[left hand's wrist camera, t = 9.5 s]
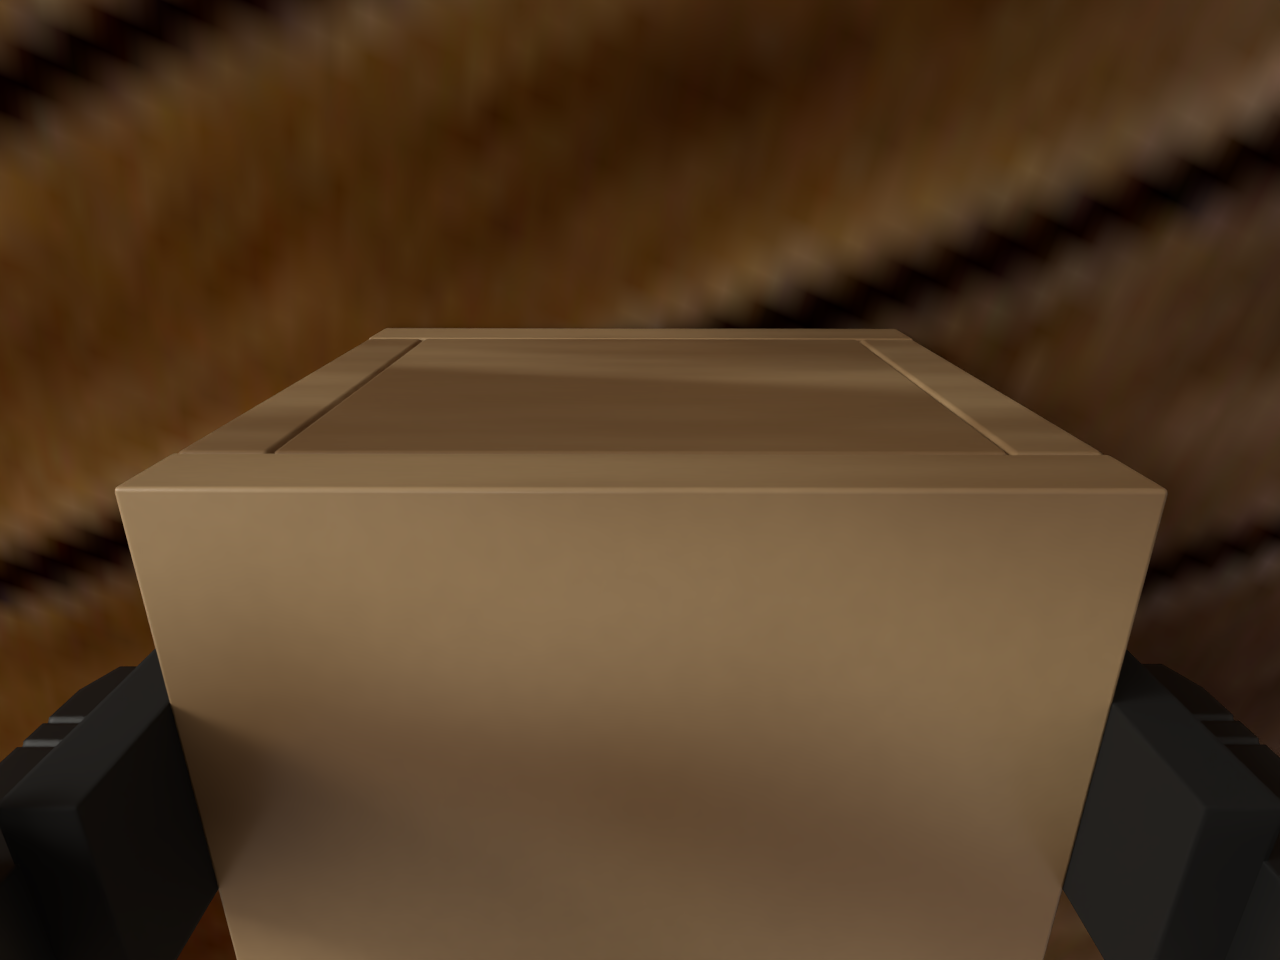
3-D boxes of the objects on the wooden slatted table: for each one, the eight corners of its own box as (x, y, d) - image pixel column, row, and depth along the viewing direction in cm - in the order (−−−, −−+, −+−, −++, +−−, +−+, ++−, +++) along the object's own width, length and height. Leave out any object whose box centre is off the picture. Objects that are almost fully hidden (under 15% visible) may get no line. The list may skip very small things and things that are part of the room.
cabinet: (809, 1053, 23) (897, 1512, 15) (469, 1053, 23) (380, 1511, 15) (897, 328, 15) (1172, 489, 7) (385, 327, 16) (110, 488, 7)
